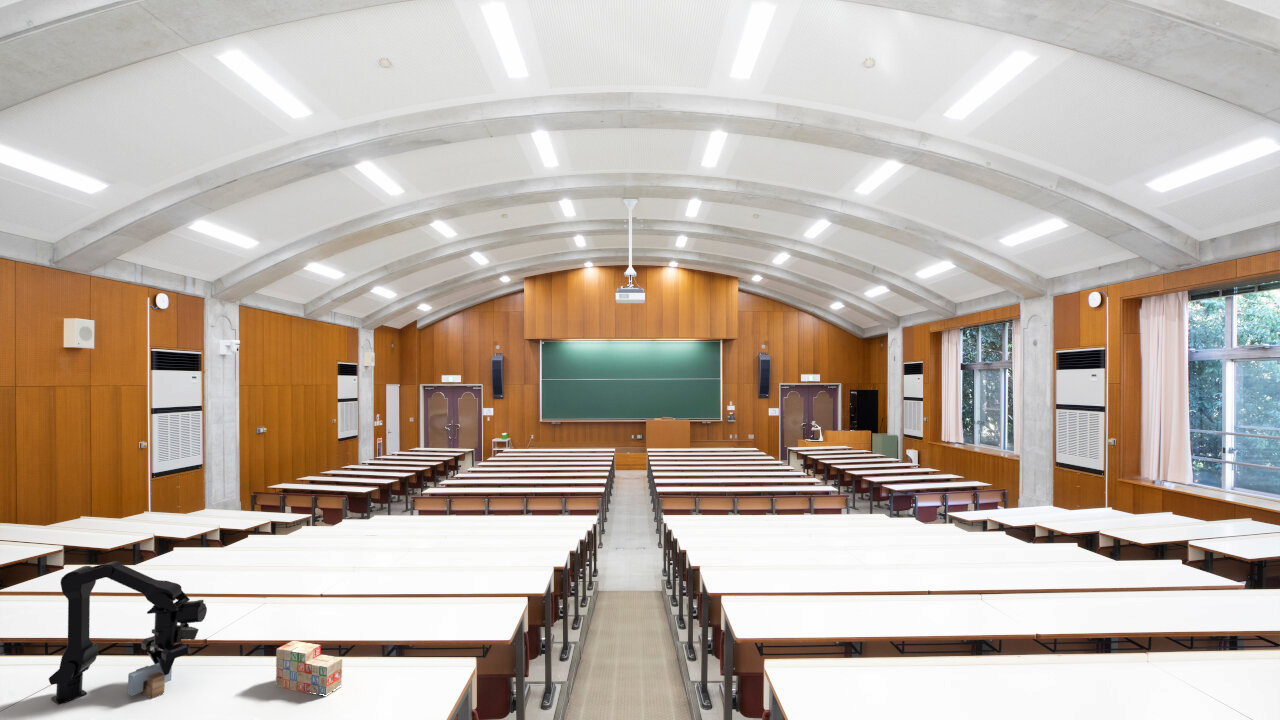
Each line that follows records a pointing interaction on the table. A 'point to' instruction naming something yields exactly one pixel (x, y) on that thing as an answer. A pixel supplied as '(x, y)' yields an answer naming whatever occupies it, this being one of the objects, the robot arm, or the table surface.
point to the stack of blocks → (307, 668)
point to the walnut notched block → (153, 684)
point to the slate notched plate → (143, 678)
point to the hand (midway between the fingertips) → (164, 673)
